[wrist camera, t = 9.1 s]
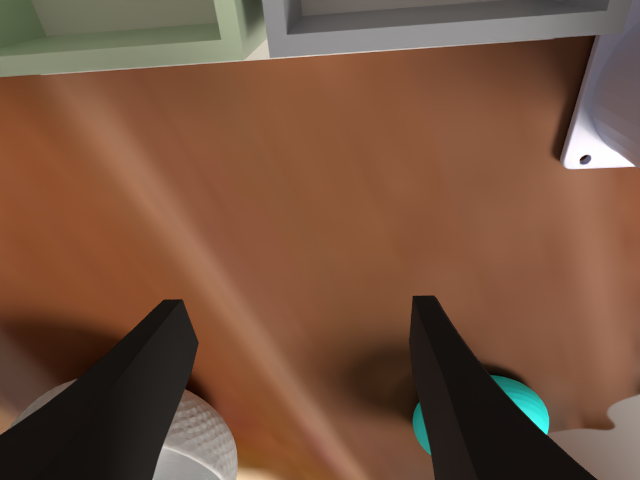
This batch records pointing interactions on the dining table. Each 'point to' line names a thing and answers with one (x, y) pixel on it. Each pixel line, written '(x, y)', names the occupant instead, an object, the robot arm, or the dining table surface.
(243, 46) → the two-tone hollow container
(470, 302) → the dining table surface
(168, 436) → the cereal bowl
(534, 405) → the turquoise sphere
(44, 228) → the dining table surface
